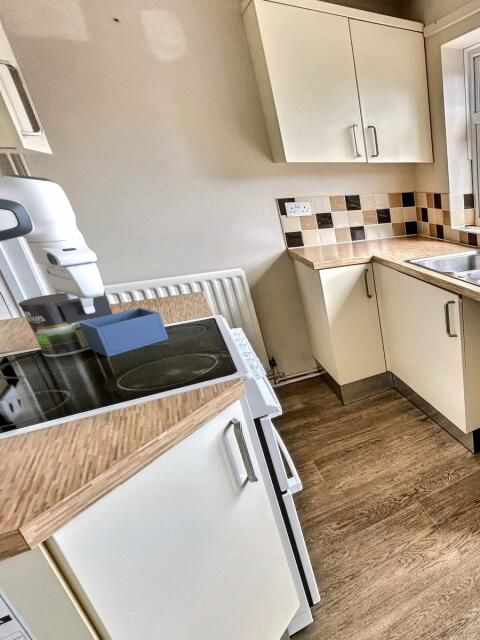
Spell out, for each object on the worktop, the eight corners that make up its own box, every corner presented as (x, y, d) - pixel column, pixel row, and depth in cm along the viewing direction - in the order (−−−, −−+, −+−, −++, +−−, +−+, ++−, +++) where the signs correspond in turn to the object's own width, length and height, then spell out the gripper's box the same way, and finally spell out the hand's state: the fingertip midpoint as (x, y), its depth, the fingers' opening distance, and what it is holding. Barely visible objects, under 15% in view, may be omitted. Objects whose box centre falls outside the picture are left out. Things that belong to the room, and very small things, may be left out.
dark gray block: (68, 324, 96) (60, 304, 94) (62, 321, 98) (54, 302, 96) (112, 314, 102) (105, 296, 101) (106, 311, 104) (98, 294, 102)
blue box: (108, 357, 107) (96, 328, 104) (90, 349, 112) (78, 322, 109) (168, 338, 118) (159, 312, 115) (150, 332, 123) (141, 307, 120)
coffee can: (60, 359, 107) (34, 306, 101) (34, 354, 109) (8, 303, 104) (106, 343, 116) (85, 294, 110) (81, 340, 118) (59, 291, 113)
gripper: (24, 251, 96) (50, 308, 102) (59, 259, 87) (85, 322, 92) (62, 246, 101) (84, 301, 107) (98, 254, 92) (121, 313, 97)
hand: (85, 311), depth 99 cm, fingers closed on dark gray block, 4 cm apart
